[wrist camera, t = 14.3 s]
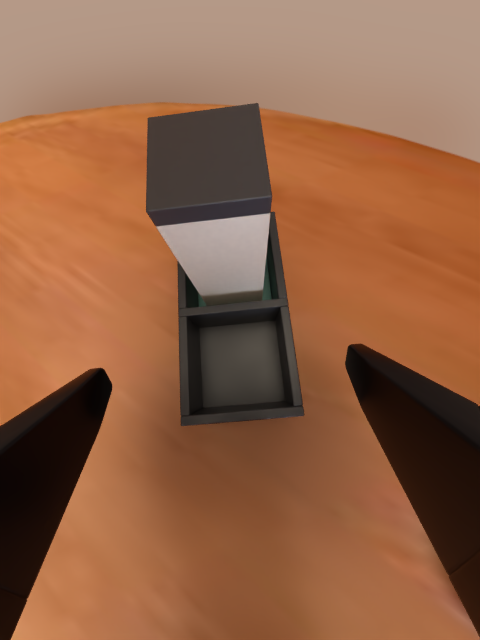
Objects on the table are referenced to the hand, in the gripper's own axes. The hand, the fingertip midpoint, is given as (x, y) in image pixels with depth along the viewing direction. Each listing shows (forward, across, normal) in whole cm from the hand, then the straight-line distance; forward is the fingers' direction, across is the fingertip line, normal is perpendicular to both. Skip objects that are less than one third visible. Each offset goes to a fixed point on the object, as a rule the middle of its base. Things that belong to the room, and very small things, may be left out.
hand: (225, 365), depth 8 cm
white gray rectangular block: (+13, 0, +2) cm, 13 cm away
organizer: (+11, 0, +5) cm, 12 cm away
